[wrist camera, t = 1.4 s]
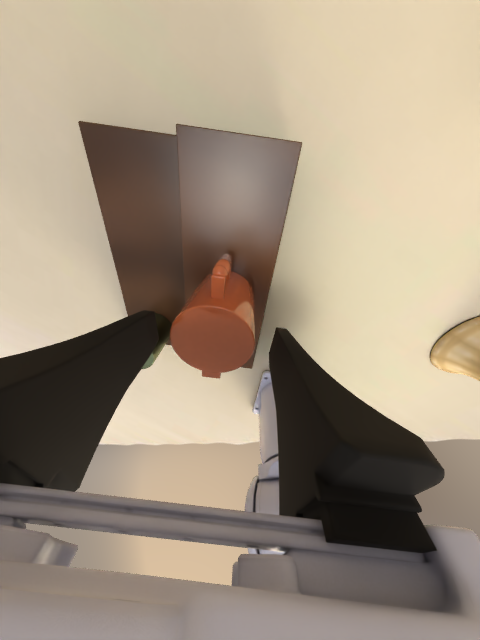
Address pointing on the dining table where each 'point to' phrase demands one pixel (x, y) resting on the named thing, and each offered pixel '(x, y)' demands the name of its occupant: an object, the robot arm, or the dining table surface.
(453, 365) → the hand bell
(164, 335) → the tin
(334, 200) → the dining table surface
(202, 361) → the jug
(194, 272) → the step shelf
